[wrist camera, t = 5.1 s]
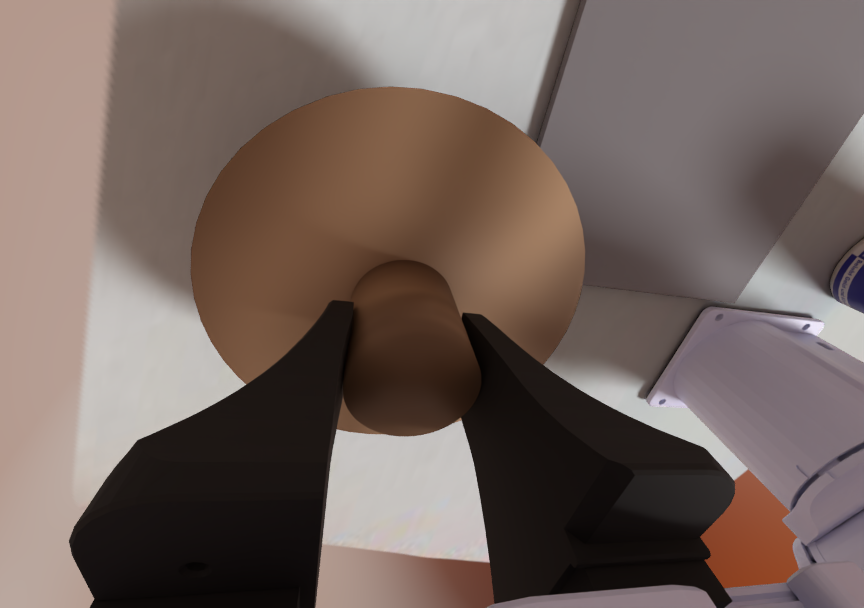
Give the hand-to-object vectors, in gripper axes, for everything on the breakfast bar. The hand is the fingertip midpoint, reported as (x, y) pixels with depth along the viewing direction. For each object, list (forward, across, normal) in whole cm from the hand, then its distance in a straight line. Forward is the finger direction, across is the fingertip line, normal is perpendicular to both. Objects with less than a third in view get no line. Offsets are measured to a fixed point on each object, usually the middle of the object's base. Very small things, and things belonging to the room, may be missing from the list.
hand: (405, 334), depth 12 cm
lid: (+2, 0, 0) cm, 2 cm away
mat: (+7, -13, -7) cm, 16 cm away
